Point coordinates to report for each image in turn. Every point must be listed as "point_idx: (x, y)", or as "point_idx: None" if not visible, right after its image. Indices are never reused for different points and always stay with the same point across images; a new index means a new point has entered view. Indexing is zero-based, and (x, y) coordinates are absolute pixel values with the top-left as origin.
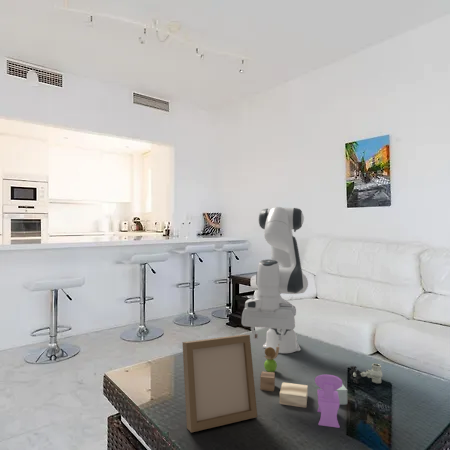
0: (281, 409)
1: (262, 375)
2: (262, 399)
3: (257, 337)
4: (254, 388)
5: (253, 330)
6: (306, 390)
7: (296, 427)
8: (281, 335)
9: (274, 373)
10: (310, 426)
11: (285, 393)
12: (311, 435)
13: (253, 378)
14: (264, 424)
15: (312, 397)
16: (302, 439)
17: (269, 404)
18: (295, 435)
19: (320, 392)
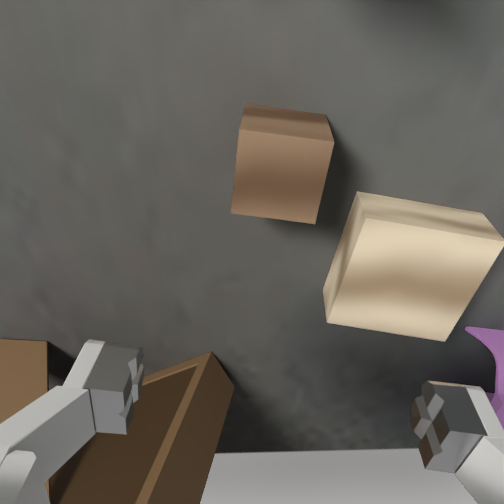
0: (324, 324)
1: (243, 194)
2: (250, 265)
3: (139, 381)
4: (211, 460)
5: (44, 474)
6: (472, 293)
7: (355, 400)
8: (469, 485)
9: (328, 155)
10: (401, 395)
11: (355, 323)
12: (389, 423)
13: (200, 496)
14: (258, 393)
15: (500, 228)
16: (358, 435)
17: (279, 297)
18: (343, 425)
19: (502, 422)
